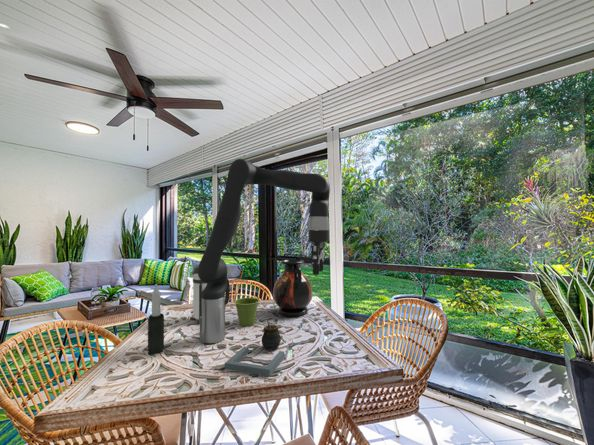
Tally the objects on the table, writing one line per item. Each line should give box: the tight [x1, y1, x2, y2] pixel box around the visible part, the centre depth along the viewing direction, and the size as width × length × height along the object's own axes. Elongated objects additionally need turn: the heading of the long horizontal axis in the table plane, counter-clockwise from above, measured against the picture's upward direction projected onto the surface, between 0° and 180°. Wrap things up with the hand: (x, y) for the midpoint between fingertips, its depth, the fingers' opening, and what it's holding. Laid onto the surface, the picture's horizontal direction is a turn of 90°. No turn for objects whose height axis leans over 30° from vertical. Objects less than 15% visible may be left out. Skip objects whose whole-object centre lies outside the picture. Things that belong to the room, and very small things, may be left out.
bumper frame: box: [224, 346, 286, 377], centre depth 95 cm, size 16×13×2 cm
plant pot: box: [234, 297, 260, 328], centre depth 133 cm, size 12×12×11 cm
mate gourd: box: [261, 318, 282, 351], centre depth 107 cm, size 7×8×10 cm
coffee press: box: [189, 265, 230, 325], centre depth 142 cm, size 17×16×30 cm
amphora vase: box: [272, 259, 313, 317], centre depth 152 cm, size 22×22×28 cm
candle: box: [147, 283, 165, 356], centre depth 105 cm, size 5×5×25 cm
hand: (318, 272), depth 104 cm, fingers open, 8 cm apart
